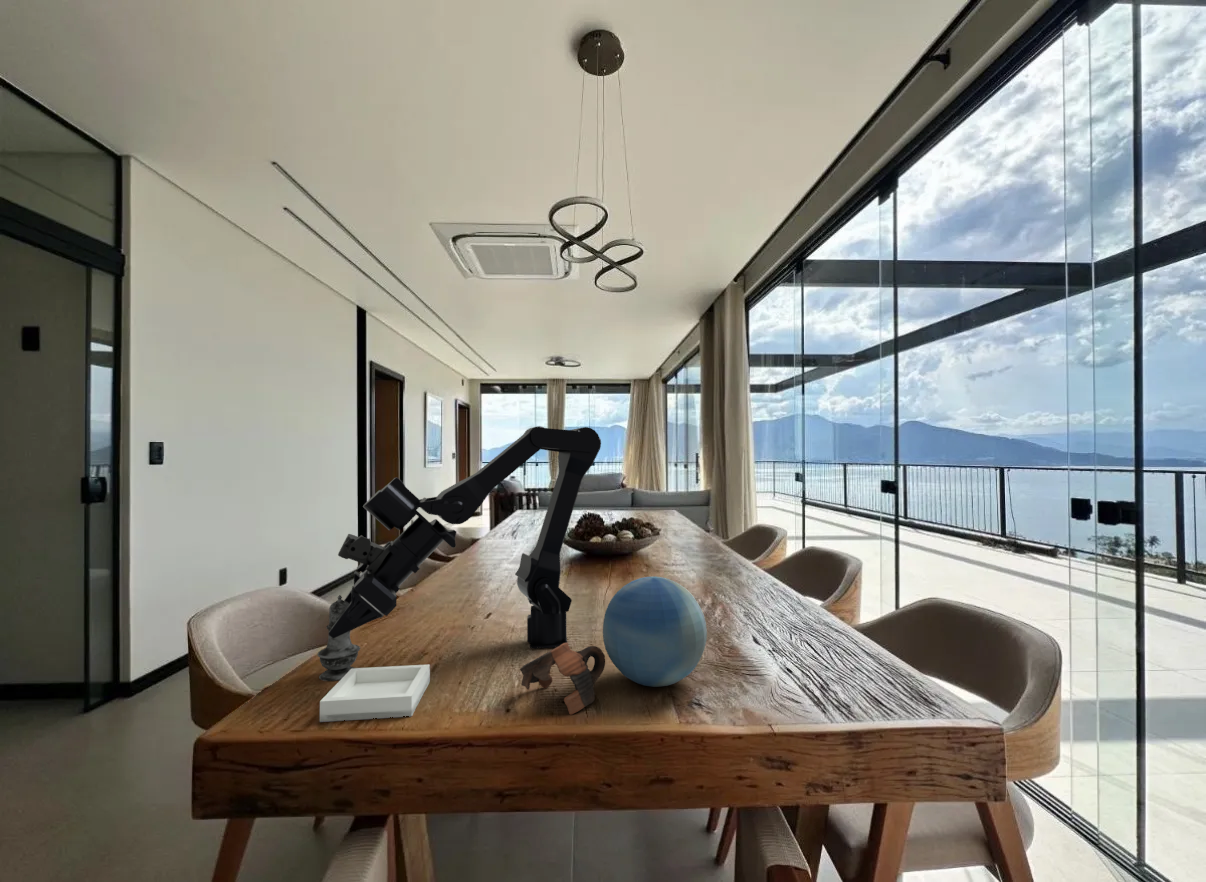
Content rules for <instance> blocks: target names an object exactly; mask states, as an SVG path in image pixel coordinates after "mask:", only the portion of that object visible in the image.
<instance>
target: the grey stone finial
mask: <svg viewBox="0 0 1206 882" xmlns="http://www.w3.org/2000/svg"><path fill="white" fill-rule="evenodd" d="M342 598H343V597H342V595H341V594H339V595H338V596H337V600H336V601H334V602H332V603H331V604H330V605H329V609H328V610H329V615H328V617H329V618H328V625H326V627H325V628H326V630H328V632H329V631H330V630H331V629H332V627H333V626H334V624H335V623H336V622H337V620H338V619H339V618H340V616H341V615H342V613H343V612H344V611H345V609H346V608H347V607H348V605H349V603H348V602H346V601H344V599H342ZM327 638H328V640H327V644H326V646H325V648H323V649H321V650H319V651H318V652H317V657H318V658H319V662H320V664H321V667H323V668H325V670H324V671H323V672H322V673H321V674H320V675H319V677H318V678H319V680H320V681H323V682H337V681H338V682H339V681H340V680H341V679H342V678H343V677H344V676H345V675H346V674H347V673H348V672H349V670H350V669H351V668H355V667H354V666H352V665H353V664H354V663H355V662H356V661H357V657H358V656H359V651H361V650H360V649H361V647H360V646H359V645H357V644H355V643H354V644H353V643H352V640H351V631H348V632H346V633H344V634H342V635H340V636H338V637H336V638H332V637H331V636H330V635H329V634H328V636H327Z"/></svg>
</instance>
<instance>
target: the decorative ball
mask: <svg viewBox="0 0 1206 882" xmlns="http://www.w3.org/2000/svg"><path fill="white" fill-rule="evenodd" d="M602 624H603V625H602V637H603V638H602V639H603V644H604V649H605V651H606V653H607V656H608V658H609V659H610V661H611V663H612V664H613V665H614V666H615V667H616V669H617V670H618V671H619V672H620V673H621V674H622V675H623V676H624V677H625V678H627V679H629V680H630V681H632V682H634V683H637V684H638V685H642V686H645V687H646V686H647V687H652V688H657V687H659V688H660V687H667V686H671V685H673V684H676V683H678V682H680V681H682V680H683V679H685V678H686V677H687V676H689V675H690V674H691V673H692V672H693V671H694V670H695V668H696V667H697V665H698V664H699V662H700V660H701V658H702V656H703V654H704V651H705V649H706V644H707V638H708V637H707V636H708V630H707V623H706V617H705V615H704V613H703V611H702V608H701V606H700V604H699V603H698V601H697V600H696V598H695V597H694V595H693V594H692V593H691V591H690V590H688V589H687V588H686V587H684V586H683V585H681V584H680V583H678V582H677V581H674V580H671V579H669V578H666V577H661V576H645V577H640V578H637V579H635V580H632V581H630V582H628V583H627V584H624V585H623V586H622V587H621V588H620V589H619V590H617V592H616V593H615V594H614V595H613V596H612V598H611V599H610V601H609V603H608V604H607V607H606V610H605V613H604V617H603V622H602Z"/></svg>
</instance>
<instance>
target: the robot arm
mask: <svg viewBox="0 0 1206 882" xmlns="http://www.w3.org/2000/svg"><path fill="white" fill-rule="evenodd" d="M601 440H602V439H601V437H600V436H599V434H598V433H597V431H596V430H595V429H593V428H591V427H588V426H585V427H578V428H573V429H561V428H560V429H559V428H549V427H545V426H544V427H543V426H540V425H538V426H533V427H530V428H528V429H526V430H525V432H524V433H523V434H522V435H521V436H520V437H519V438H517V439H515V441H514V442H513V443H511V444H510V445H509V446H508V447H506V448H505V449H503V451H501V452H500V453H499V454H497V456H495V457H494V458H493V459H492V460H490V461H489V462H487V464H485V465H484V466H483V467H482V468H480V469H479V470H478V471H476V472H475V473H473V474H472V475H470V476H468V477H465V478H464V479H462V480H460V481H458V482H455V484H453V485H451V486H449V487H446V488H445V489H444V490H442V491H441V492H439V494H438V495H437V496H432V497H423V498H421V499H419V498H418V497H417V496H416V495H415V494H414V493H413V492H412V491H411V490H409V488H407V487H406V485H405V483H404V482H403V481H402V480H401V479H400V478H399V477H394V478H393V479H392V480H391V481H390V482H389V483H388V484H386V485H385V486H384V487H383V488H381V489H379V490H378V491H377V492H375V494H373V495H372V496H371V497H370V498H369V499H368V500H367V501H366V502H365V503H364V504H363V506H362V507H363V508H364V510H366V512H368V513H369V514H370V515H371V516H373V517H374V518H375V519H376V520H377V521H378V522H379V523H380V524H381V525H382V526H383V527H385V528H386V529H387V530H388V531H391V530H393V529H394V528H395V529H396V530H398V531H401V530H402V529H403V528H404V527H406V525H408V524H409V523H410V522H411V521H412V520H413V519H414V517H415V516H417V518H416V519H415V520H414V521H412V523H410V524H409V526H407V528H405V530H404V531H402V532H401V533H400V535H399V536H397V537H396V538H395V539H394V540H391V541H387V542H386V543H385V544H384V545H380V544H377V543H376V542H373V541H371V538H369V537H368V538H367V537H364V536H363V535H362V534H361V535H360V536H358V535H354V534H353V533H352V534H351V533H348V534H347V535H346V537H345V540H344V542H343V544H341V547H340V549H339V552H338V554H337V555H338V557H339V558H343V559H345V560H348V559H350V560H352V561H355V562H357V563H359V565H358V566H357V567H356V570H354V573H353V586H352V587H351V589H350V591H349V592H348V593H347V595H346V597H345V598H344V599H343V601H346V602H348V603H349V605H348V607H347V608H346V609H345V611H344V612H343V613H342V615H341V616H340V618H339V619H338V620H337V622H336V623H335V624H334V626H333V627H332V629H331V630H330V631H329V630H328V632H327V633H328V634H329V635H330V636H331V637H332V638H336V637H338V636H340V635H342V634H344V633H346V632H348V631H350V632H351V631H353V630H355V629H357V628H359V627H361V626H363V625H365V624H368V623H371V622H372V621H375V620H377V619H382V618H383V617H384V616H385V617H388V615H390V613H391V612H392V611H393V610H395V608H397V593H398V592H399V590H400V589H401V585H402V584H403V583H404V582H406V580H407V579H408V578H409V577H410V576H411V575H412V574H413V573H414V574H416V573H417V572H418V571H419V570H420V569H421V568H420V566H422V564H423V563H424V561H425V560H426V559H428V558H429V556H430V555H431V554H432V553H433V552H434V551H435V550H436V549H438V547H439V546H440V545H441V544H442V543H443V542H445V543H446V544H447V545H448V546H449V547H450V548H452V549H453V548H456V547H457V546H456V544H457V543H456V534H457V530H455V529H447V527H446V526H444V525H443V524H442V523H441V521H439V520H438V519H433V520H431V521H429V520H428V519H426V517H424V516H423V515H422V513H420V512H419V511H418V509H421V510H422V511H423V512H425V513H427V514H428V515H431V516H438V517H439V518H440V519H441V520H442V521H444V522H445V523H447V524H450V525H462V524H464V523H465V522H467V521H469V520H470V519H471V518H472V516H473V515H474V514H475V513H476V512H477V510H478V509H479V508H480V507H481V506H482V505H483V503H484V501H485V500H486V498H487V497H488V495H489V494H490V493H491V492H492V491H493V489H495V488H496V487H498V485H500V484H501V483H502V482H503V481H504V480H506V479H507V478H508V477H509V476H511V474H513V473H514V472H515V471H516V470H518V469H519V468H520V467H521V466H522V465H524V464H525V463H526V462H528V461H529V460H530V459H531V458H532V457H533V456H534V455H536V454H537V453H538V452H539V451H540V450H543V451H548V452H556V453H557V452H558V453H557V465H558V473H557V476H556V479H555V480H556V481H555V482H554V486H553V490H552V493H551V497H550V500H549V503H548V507H547V508H546V509H547V510H546V511H545V513H546V514H545V515H544V519H543V523H542V525H541V529H540V532H539V536H538V539H537V541H536V545H535V547H534V549H533V550H532V551H531V553H529V555H528V554H526V553H524V552H523V553H522V554H521V556H520V563H519V566H518V568H517V570H516V572H514V575H515V576H516V577H517V580H516V585H517V587H518V589H519V592H520V593H522V594H523V595H524V596H525V597H526V598H527V600H528V603H529V604H530V605H531V606H530V614H528V615H527V619H526V620H527V621H526V623H527V624H526V625H527V626H526V629H527V632H526V637H527V640H526V641H527V642H528V643H529V649H532V650H533V649H549V648H550V649H551V648H553V649H555V648H556V647H558V646H560V645H561V644H563V643H568V644H569V642H568V637H567V633H568V632H567V613H568V612H569V610H570V607H571V605H572V601H573V600H572V598H571V597H570V596H569V595H568V594H567V593H566V592H565V591H564V590H562V589H561V588H560V580H561V573H562V571H561V570H562V569H561V568H562V567H561V551H562V548H563V545H564V541H565V538H566V534H567V531H568V527H569V524H570V521H571V518H572V514H573V511H574V507H575V504H576V502H577V501H576V500H577V498H578V494H579V490H580V487H581V484H582V480H583V478H584V476H585V475H586V474H587V472H588V471H589V470H590V468H591V467H592V466H593V464H594V463H595V460H596V458H597V456H598V454H599V452H600V450H601V447H602V446H601V445H602V441H601Z"/></svg>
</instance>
